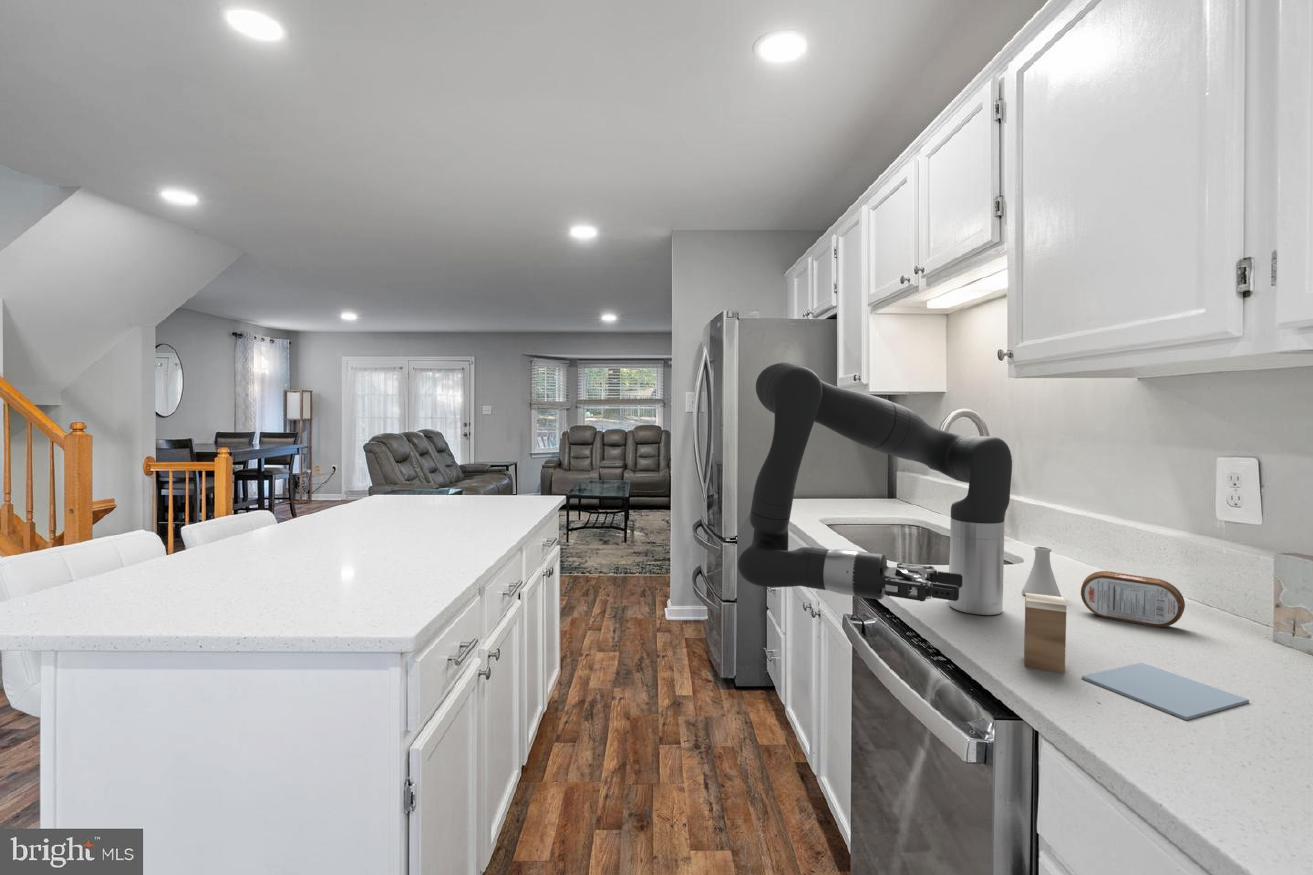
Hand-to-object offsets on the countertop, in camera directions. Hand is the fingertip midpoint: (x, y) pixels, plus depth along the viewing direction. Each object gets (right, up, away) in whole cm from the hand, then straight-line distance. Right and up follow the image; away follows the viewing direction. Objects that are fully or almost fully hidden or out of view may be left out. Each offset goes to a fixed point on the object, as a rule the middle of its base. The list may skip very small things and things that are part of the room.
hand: (960, 587), depth 99 cm
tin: (+38, -10, +15) cm, 42 cm away
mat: (+21, -11, -14) cm, 27 cm away
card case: (+10, -10, -5) cm, 15 cm away
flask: (+31, -9, +31) cm, 45 cm away
